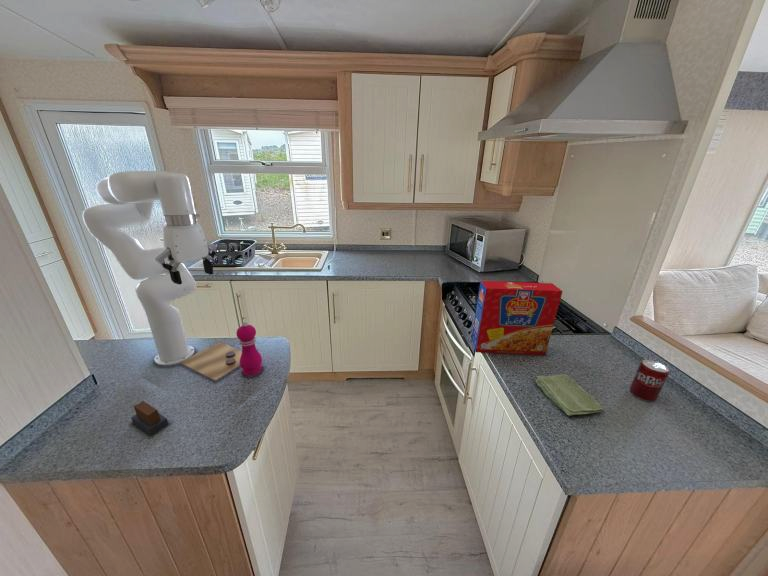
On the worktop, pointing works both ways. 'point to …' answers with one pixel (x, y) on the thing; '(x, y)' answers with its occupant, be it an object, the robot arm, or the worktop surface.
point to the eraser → (148, 418)
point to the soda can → (649, 380)
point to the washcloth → (568, 395)
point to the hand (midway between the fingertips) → (194, 278)
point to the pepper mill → (249, 350)
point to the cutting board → (213, 361)
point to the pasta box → (515, 317)
